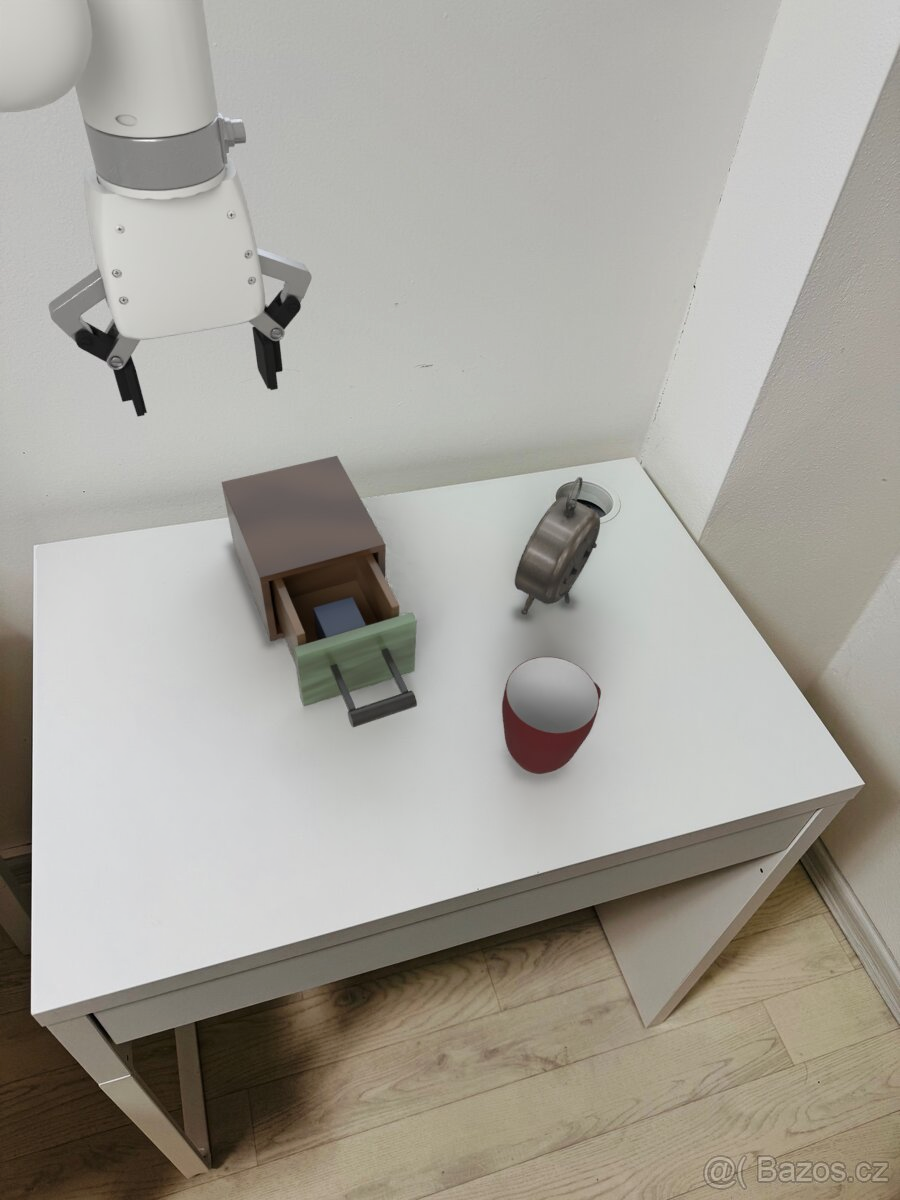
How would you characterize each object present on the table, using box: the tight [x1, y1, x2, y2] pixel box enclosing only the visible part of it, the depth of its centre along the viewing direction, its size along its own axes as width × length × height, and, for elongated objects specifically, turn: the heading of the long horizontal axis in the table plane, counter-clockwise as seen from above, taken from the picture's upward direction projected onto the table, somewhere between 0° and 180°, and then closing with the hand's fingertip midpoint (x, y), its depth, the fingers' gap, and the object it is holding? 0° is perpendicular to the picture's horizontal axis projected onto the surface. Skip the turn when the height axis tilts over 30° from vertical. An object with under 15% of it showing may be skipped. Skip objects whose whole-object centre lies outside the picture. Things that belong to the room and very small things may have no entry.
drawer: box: [269, 554, 418, 729], centre depth 80 cm, size 20×11×8 cm, turn 24°
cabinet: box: [221, 455, 386, 642], centre depth 88 cm, size 15×13×10 cm
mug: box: [501, 656, 602, 775], centre depth 75 cm, size 10×8×10 cm
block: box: [313, 597, 366, 640], centre depth 82 cm, size 4×4×4 cm
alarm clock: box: [514, 476, 601, 616], centre depth 86 cm, size 11×5×16 cm, turn 147°
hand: (204, 392), depth 62 cm, fingers open, 9 cm apart
